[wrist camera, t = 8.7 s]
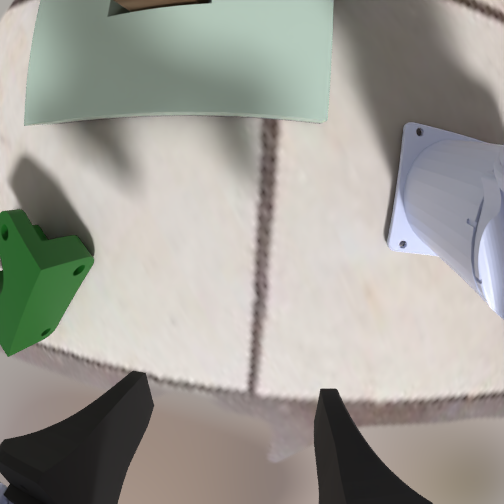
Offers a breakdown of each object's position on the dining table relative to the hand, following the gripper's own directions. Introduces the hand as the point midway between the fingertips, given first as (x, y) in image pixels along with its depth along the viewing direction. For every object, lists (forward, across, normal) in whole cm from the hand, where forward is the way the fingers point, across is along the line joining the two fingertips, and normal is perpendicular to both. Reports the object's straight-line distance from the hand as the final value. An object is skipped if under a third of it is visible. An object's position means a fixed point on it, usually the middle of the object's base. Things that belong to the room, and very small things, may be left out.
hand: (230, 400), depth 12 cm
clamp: (+10, +17, -1) cm, 20 cm away
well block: (+10, +5, -20) cm, 23 cm away
